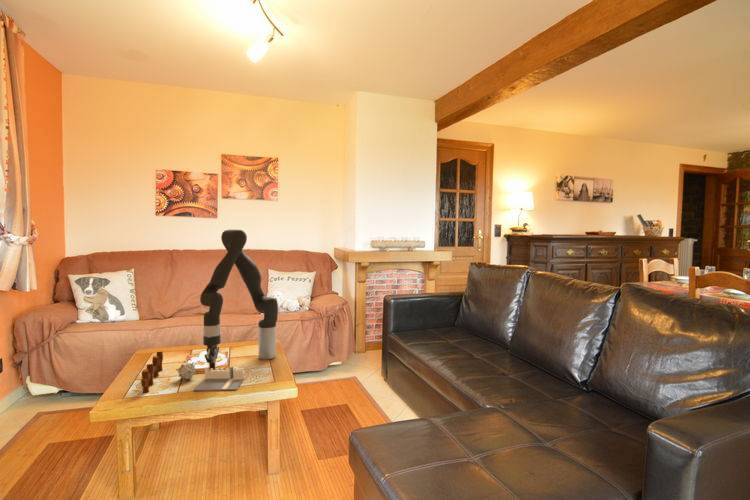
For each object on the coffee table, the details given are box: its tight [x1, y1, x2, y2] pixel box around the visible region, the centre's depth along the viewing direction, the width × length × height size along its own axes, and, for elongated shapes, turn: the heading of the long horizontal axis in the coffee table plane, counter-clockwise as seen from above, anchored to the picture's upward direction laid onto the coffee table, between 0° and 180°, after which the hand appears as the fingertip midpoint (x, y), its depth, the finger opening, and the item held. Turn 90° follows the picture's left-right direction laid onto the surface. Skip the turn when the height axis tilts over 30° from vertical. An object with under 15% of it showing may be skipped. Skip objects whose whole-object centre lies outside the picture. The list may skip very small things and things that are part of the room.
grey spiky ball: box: [175, 360, 199, 382], centre depth 182 cm, size 9×8×10 cm
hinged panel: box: [204, 366, 234, 379], centre depth 182 cm, size 13×1×5 cm, turn 94°
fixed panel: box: [233, 367, 245, 380], centre depth 182 cm, size 4×1×5 cm, turn 94°
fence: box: [140, 351, 164, 394], centre depth 181 cm, size 34×3×10 cm, turn 17°
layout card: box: [192, 377, 245, 392], centre depth 176 cm, size 13×18×1 cm
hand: (212, 370), depth 185 cm, fingers closed
